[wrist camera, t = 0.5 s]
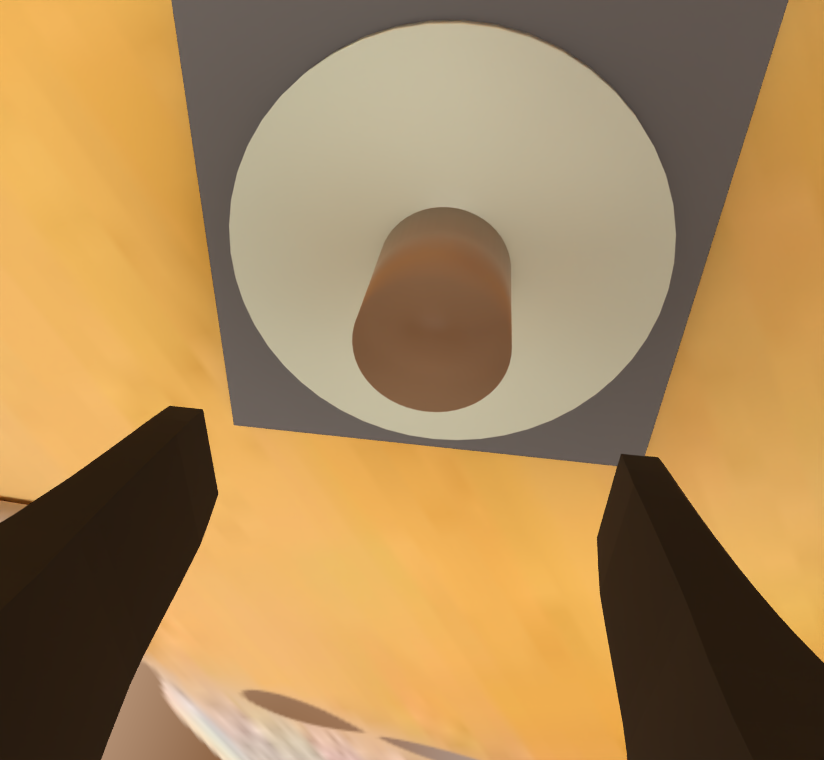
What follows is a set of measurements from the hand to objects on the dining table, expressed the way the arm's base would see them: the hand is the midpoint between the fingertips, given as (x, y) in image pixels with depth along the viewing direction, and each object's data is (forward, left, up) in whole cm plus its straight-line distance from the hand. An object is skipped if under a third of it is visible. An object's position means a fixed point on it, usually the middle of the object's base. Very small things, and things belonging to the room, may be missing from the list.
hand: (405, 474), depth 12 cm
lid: (0, 0, -9) cm, 9 cm away
